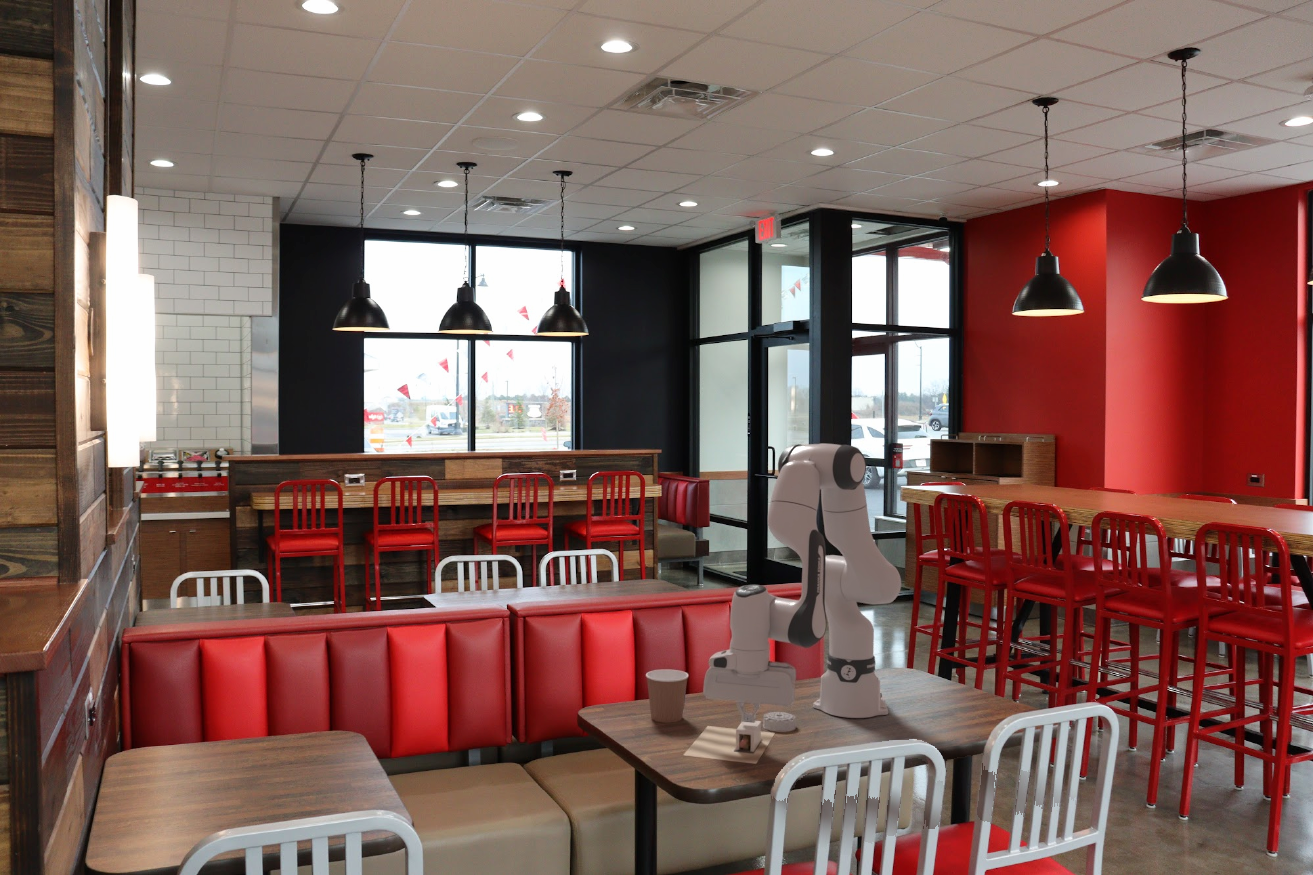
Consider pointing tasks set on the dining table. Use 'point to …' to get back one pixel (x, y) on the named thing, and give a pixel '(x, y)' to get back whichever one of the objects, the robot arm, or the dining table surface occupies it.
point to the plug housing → (748, 729)
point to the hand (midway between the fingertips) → (748, 721)
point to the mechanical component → (779, 722)
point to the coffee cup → (667, 694)
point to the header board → (727, 745)
